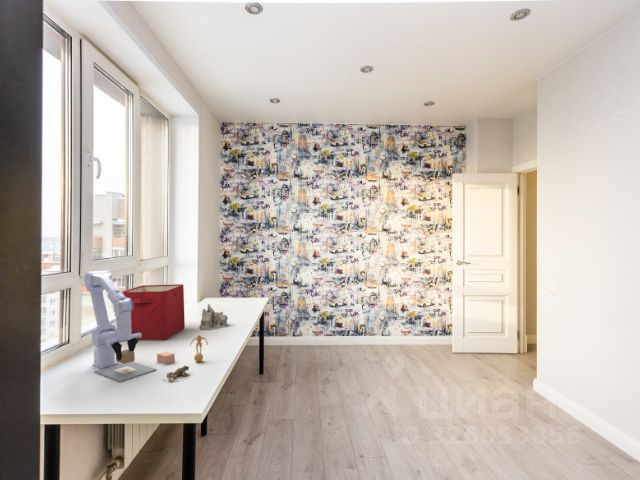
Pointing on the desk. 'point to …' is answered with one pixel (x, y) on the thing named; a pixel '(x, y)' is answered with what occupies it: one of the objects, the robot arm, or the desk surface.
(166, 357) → the terracotta block
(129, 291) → the storage cube
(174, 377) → the frog figurine
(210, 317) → the stone castle ruin
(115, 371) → the board
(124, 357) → the walnut block
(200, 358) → the figurine
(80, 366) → the desk surface
